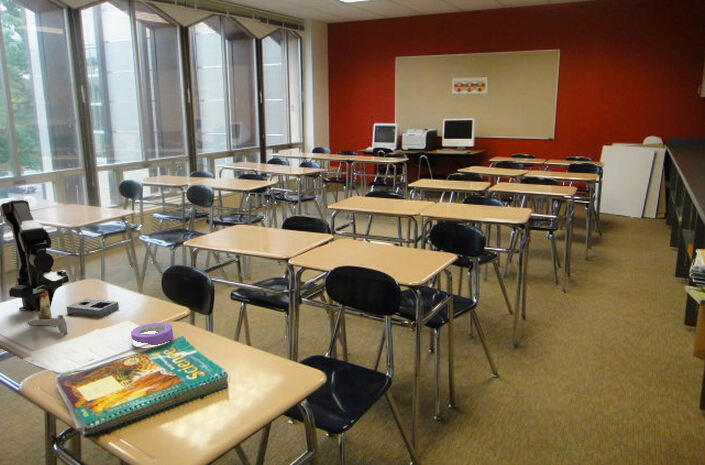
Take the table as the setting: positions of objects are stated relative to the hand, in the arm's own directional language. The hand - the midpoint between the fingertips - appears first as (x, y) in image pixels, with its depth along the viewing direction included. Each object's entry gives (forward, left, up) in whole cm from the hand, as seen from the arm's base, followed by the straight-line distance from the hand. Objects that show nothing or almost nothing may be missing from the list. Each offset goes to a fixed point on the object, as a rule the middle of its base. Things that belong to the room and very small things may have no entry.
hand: (43, 309), depth 180 cm
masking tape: (+48, -5, -4) cm, 48 cm away
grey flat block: (+10, +11, -4) cm, 15 cm away
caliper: (+7, -6, -4) cm, 10 cm away
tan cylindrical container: (0, 0, -4) cm, 4 cm away
